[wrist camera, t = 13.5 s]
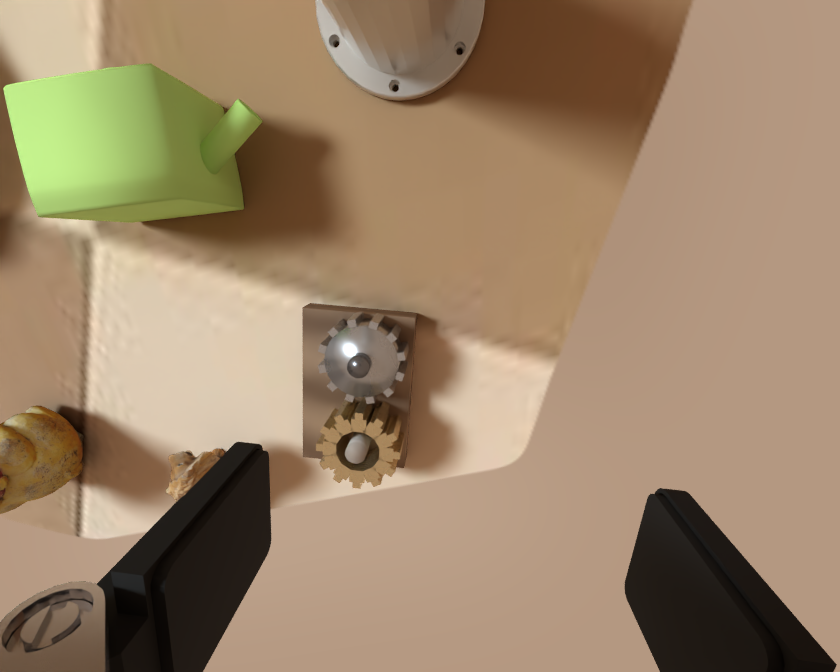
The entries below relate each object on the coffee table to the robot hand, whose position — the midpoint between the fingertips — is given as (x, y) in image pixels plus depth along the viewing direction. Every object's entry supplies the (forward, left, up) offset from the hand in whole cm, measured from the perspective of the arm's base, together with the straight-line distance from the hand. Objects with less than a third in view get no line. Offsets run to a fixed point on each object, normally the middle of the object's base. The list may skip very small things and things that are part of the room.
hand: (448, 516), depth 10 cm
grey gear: (+5, -7, -26) cm, 28 cm away
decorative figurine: (+19, -40, -28) cm, 53 cm away
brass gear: (+13, -7, -26) cm, 30 cm away
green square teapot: (-11, -24, -29) cm, 39 cm away
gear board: (+9, -8, -28) cm, 31 cm away
